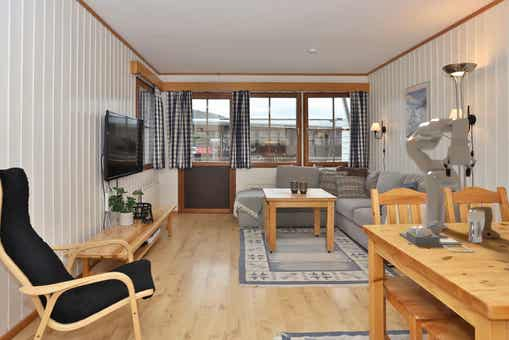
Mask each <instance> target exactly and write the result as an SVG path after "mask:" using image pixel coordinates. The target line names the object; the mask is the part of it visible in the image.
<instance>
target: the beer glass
mask: <svg viewBox="0 0 509 340" xmlns="http://www.w3.org/2000/svg"><path fill="white" fill-rule="evenodd" d="M484 223H485V211H483V210H471V209H469V210H468V215H467V225H468V233H469V234H468V239H467V241H468V242H469V243H473V244H482V243H483V237H482V232H483V228H484Z"/></svg>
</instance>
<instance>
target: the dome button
mask: <svg viewBox="0 0 509 340" xmlns="http://www.w3.org/2000/svg"><path fill="white" fill-rule="evenodd" d="M417 227H418V228H417V229H416V235H418V236H430V232H431V230H430V228H427V227H425V226H422V225H419V226H417Z"/></svg>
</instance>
